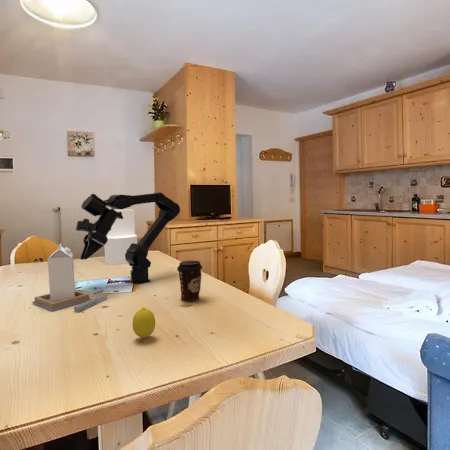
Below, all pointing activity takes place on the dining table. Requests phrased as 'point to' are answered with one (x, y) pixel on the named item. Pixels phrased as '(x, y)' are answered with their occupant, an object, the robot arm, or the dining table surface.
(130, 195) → the robot arm
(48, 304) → the brown and grey tray
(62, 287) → the milk carton
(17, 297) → the dining table surface
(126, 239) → the white tall block
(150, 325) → the lemon
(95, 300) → the steel rail
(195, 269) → the coffee cup
